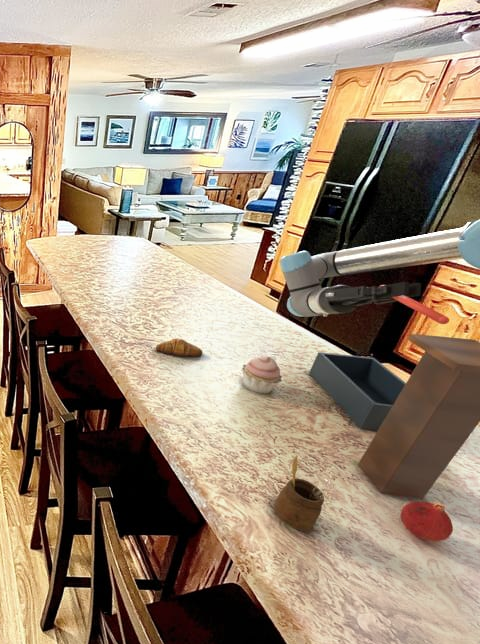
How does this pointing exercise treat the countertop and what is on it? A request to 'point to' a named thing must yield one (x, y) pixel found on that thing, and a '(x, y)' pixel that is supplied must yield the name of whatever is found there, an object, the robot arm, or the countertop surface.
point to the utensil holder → (299, 502)
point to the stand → (427, 418)
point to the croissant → (179, 348)
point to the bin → (358, 386)
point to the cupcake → (261, 374)
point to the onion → (427, 520)
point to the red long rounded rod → (422, 309)
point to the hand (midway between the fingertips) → (412, 288)
